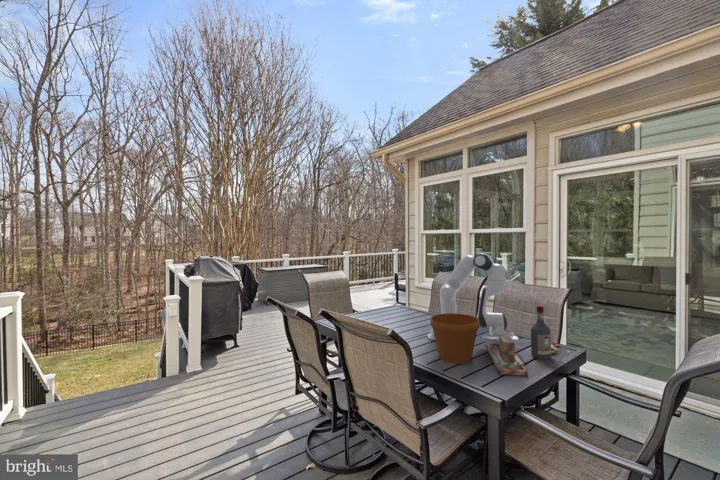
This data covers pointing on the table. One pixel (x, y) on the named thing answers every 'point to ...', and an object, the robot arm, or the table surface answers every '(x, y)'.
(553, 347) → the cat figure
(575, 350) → the table surface
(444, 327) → the flowerpot
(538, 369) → the table surface
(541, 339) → the liquor
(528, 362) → the table surface
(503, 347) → the walnut block
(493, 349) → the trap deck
